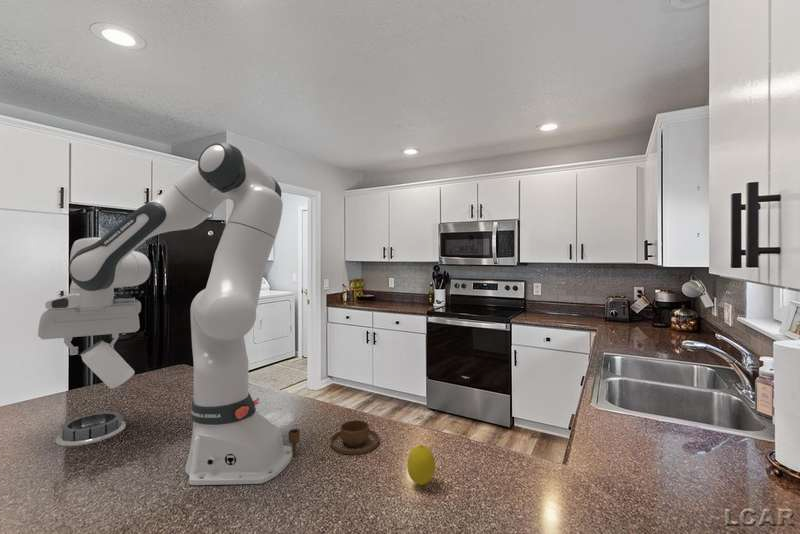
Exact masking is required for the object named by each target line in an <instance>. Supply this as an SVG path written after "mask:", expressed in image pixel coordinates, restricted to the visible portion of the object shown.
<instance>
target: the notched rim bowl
mask: <svg viewBox="0 0 800 534" xmlns="http://www.w3.org/2000/svg"><path fill="white" fill-rule="evenodd" d="M122 418H123V417H122V414H121V413H120V412H117V411H105V412H96V413H91V414H90V413H89V414H87V415H82V416H80V417H79V416H78V417H76V418H73V419H70V420H67V421H66V422H65V423H63V425H61V426H60V433H59V434H58V435H57V436H56V437H55V444H56V445H58V446H61V447H78V446H85V445H89V444H90V445H91V444H93V443H94V444H95V443H98V442H101V441H104V440H107V439H110V438H112V437H114V436H116V435H118V434H120V433H122V432H123V431H124V430H125V429H126V426H127V424H126V422H125V421H124V420H123V419H122Z"/></svg>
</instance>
